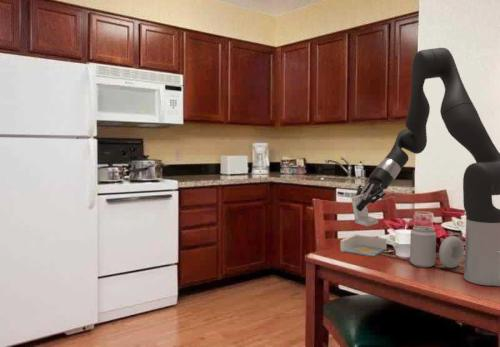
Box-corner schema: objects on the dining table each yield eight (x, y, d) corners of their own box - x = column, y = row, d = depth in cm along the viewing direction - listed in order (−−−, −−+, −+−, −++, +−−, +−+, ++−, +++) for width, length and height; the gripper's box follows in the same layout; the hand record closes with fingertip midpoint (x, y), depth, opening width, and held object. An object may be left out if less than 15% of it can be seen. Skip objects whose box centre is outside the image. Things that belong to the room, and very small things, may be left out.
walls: (386, 249, 153) (386, 238, 153) (373, 256, 144) (373, 245, 143) (354, 244, 161) (355, 234, 160) (340, 251, 151) (340, 240, 151)
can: (437, 268, 130) (438, 230, 129) (412, 267, 131) (412, 229, 130) (432, 262, 137) (433, 225, 136) (408, 260, 139) (408, 224, 138)
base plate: (385, 250, 152) (385, 248, 152) (373, 256, 144) (373, 255, 144) (356, 245, 159) (356, 244, 159) (343, 251, 150) (343, 250, 150)
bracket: (378, 222, 146) (374, 196, 145) (367, 226, 145) (363, 200, 143) (365, 219, 153) (361, 194, 151) (355, 222, 151) (351, 197, 150)
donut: (446, 271, 127) (447, 239, 126) (435, 269, 130) (436, 236, 129) (465, 266, 132) (466, 235, 131) (455, 264, 135) (456, 233, 134)
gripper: (367, 165, 158) (338, 199, 155) (392, 167, 146) (362, 205, 142) (378, 178, 161) (350, 212, 157) (404, 182, 148) (374, 219, 145)
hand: (356, 209), depth 150 cm, fingers closed on bracket, 2 cm apart
